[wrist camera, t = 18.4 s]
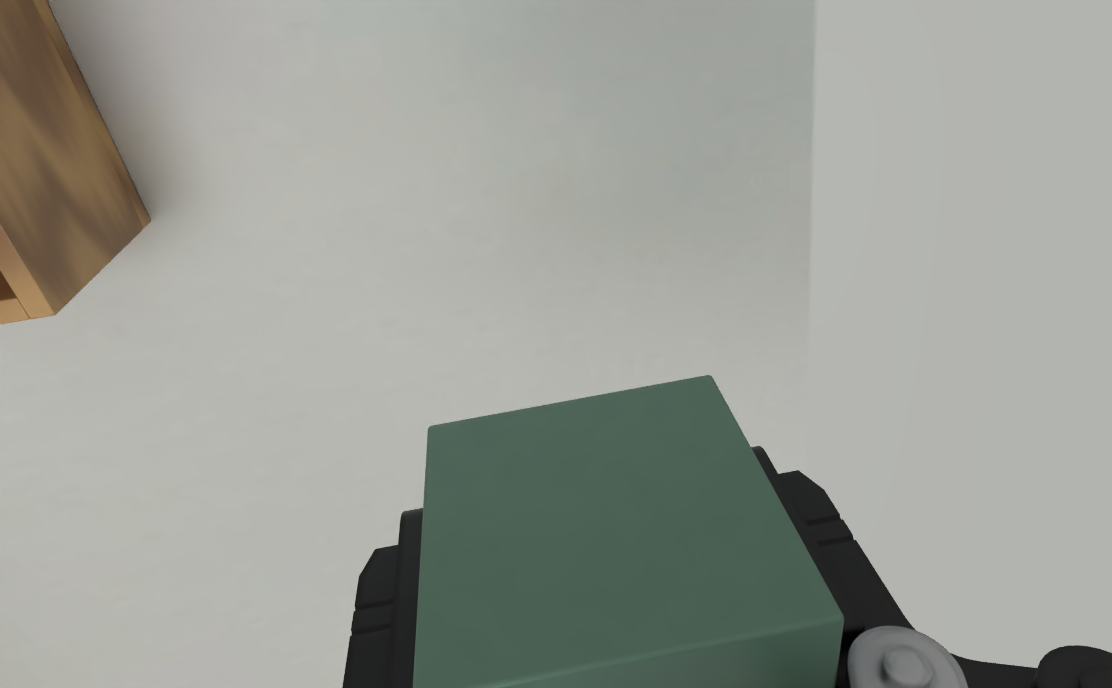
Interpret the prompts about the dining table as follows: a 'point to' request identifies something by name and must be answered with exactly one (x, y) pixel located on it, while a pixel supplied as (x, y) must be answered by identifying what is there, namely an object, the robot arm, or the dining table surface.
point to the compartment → (54, 171)
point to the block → (614, 552)
